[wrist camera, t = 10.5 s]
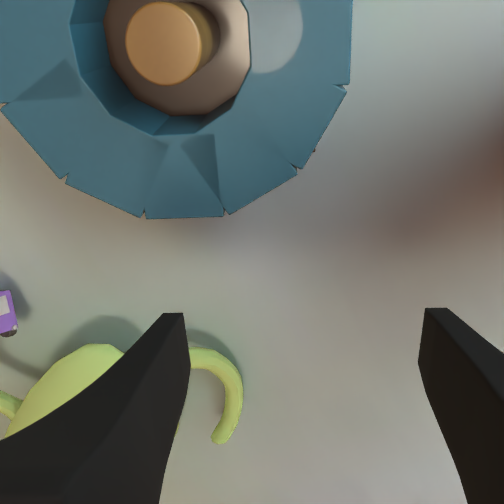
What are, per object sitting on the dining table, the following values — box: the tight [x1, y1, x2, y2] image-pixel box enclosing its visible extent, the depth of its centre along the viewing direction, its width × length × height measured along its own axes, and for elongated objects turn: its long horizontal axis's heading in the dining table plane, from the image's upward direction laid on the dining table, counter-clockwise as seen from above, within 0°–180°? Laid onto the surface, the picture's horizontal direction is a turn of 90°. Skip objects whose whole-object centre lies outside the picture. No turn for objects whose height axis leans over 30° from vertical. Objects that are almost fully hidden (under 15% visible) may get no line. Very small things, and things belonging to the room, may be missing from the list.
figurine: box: [0, 290, 243, 444], centre depth 29 cm, size 18×27×6 cm
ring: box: [0, 0, 353, 219], centre depth 17 cm, size 13×13×3 cm
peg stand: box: [103, 0, 315, 152], centre depth 17 cm, size 10×10×6 cm
